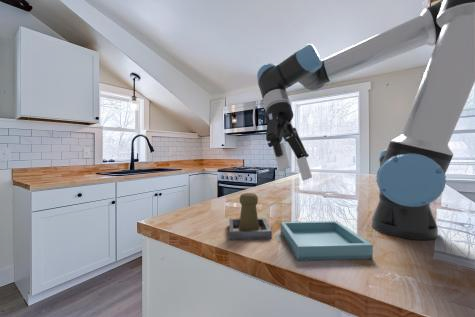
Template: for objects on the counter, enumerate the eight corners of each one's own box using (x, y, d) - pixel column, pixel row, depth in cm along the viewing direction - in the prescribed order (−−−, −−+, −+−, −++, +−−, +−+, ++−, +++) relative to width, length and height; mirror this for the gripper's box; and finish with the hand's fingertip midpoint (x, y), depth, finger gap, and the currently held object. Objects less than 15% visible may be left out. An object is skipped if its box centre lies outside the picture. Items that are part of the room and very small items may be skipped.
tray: (336, 231, 64) (336, 220, 64) (372, 258, 48) (372, 244, 48) (280, 232, 63) (280, 222, 63) (298, 260, 47) (298, 246, 47)
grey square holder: (264, 224, 70) (264, 218, 70) (271, 238, 59) (271, 231, 59) (229, 225, 69) (229, 219, 69) (229, 239, 58) (229, 232, 58)
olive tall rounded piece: (258, 236, 61) (258, 195, 60) (236, 234, 62) (236, 195, 61) (260, 228, 67) (260, 191, 66) (240, 227, 68) (240, 191, 67)
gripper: (286, 128, 79) (303, 185, 70) (242, 97, 60) (258, 169, 51) (306, 118, 75) (327, 177, 66) (266, 81, 56) (287, 157, 47)
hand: (297, 174), depth 58 cm, fingers open, 13 cm apart
